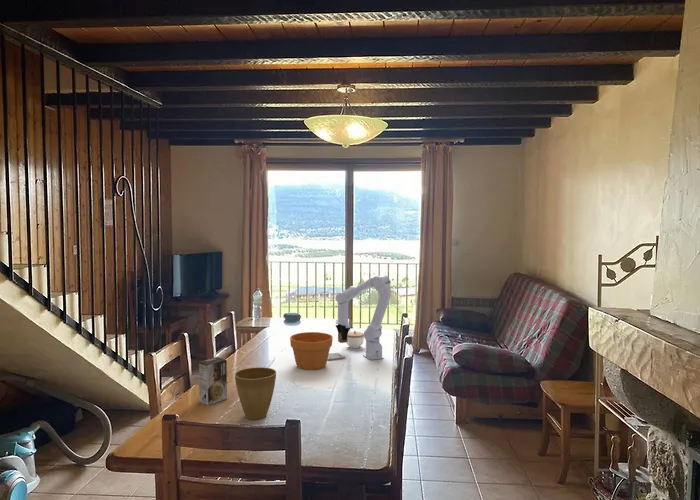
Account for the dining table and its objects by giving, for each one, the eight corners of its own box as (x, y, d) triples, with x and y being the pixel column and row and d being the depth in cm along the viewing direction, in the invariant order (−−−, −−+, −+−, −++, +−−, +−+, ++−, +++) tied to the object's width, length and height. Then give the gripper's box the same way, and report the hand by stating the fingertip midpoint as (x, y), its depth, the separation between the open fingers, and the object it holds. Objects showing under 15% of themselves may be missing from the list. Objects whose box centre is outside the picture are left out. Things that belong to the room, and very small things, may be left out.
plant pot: (278, 408, 186) (278, 366, 185) (273, 423, 171) (273, 378, 171) (239, 408, 186) (239, 366, 185) (230, 424, 171) (230, 378, 170)
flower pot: (326, 373, 231) (326, 342, 230) (284, 370, 235) (284, 340, 234) (336, 361, 251) (336, 333, 251) (297, 359, 256) (297, 331, 255)
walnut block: (347, 342, 269) (347, 333, 269) (340, 342, 268) (340, 333, 267) (344, 340, 273) (344, 331, 273) (337, 341, 271) (337, 332, 271)
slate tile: (345, 358, 257) (345, 357, 257) (327, 360, 253) (327, 359, 253) (338, 354, 266) (338, 352, 266) (320, 355, 262) (320, 354, 262)
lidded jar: (364, 349, 277) (364, 333, 276) (345, 349, 277) (345, 332, 277) (363, 345, 288) (364, 329, 287) (345, 344, 288) (345, 328, 287)
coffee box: (217, 395, 199) (217, 356, 199) (227, 399, 195) (227, 359, 195) (198, 401, 192) (198, 361, 192) (207, 405, 188) (207, 364, 187)
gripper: (331, 312, 275) (331, 336, 275) (341, 316, 261) (341, 341, 262) (342, 311, 277) (342, 335, 278) (353, 315, 264) (353, 340, 265)
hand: (342, 338), depth 270 cm, fingers closed on walnut block, 4 cm apart
